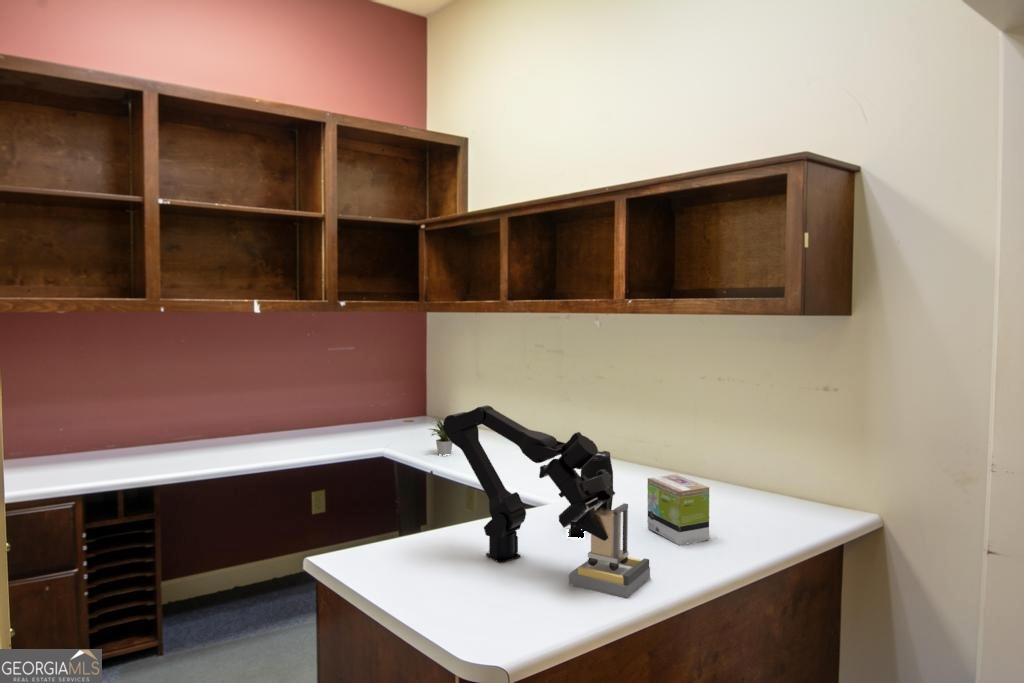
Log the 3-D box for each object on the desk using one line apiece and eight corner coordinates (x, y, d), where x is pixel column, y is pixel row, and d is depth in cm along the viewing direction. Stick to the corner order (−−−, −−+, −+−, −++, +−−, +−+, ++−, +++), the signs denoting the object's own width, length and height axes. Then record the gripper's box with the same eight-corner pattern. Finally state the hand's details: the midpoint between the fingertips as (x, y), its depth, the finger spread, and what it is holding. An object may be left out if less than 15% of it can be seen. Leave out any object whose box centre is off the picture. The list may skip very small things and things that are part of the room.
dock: (569, 584, 157) (569, 564, 157) (594, 565, 168) (594, 547, 168) (627, 598, 150) (627, 577, 150) (650, 577, 161) (650, 558, 161)
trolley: (587, 565, 159) (588, 505, 158) (599, 557, 164) (599, 499, 163) (617, 571, 155) (617, 510, 154) (628, 563, 160) (628, 503, 159)
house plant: (432, 450, 303) (431, 412, 303) (463, 451, 301) (463, 413, 301) (423, 457, 289) (422, 418, 288) (456, 458, 287) (455, 418, 286)
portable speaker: (592, 512, 212) (592, 448, 211) (617, 518, 206) (618, 452, 205) (575, 519, 205) (575, 452, 204) (600, 525, 199) (600, 457, 198)
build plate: (563, 528, 198) (563, 512, 198) (589, 529, 198) (589, 513, 197) (562, 543, 186) (562, 526, 186) (590, 544, 185) (590, 527, 185)
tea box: (646, 529, 195) (646, 477, 195) (675, 524, 199) (676, 473, 199) (679, 546, 182) (679, 490, 181) (710, 541, 186) (710, 485, 185)
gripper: (571, 468, 153) (617, 527, 147) (607, 452, 168) (651, 505, 163) (539, 498, 157) (583, 556, 152) (578, 480, 173) (619, 532, 168)
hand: (611, 536), depth 158 cm, fingers closed on trolley, 5 cm apart
